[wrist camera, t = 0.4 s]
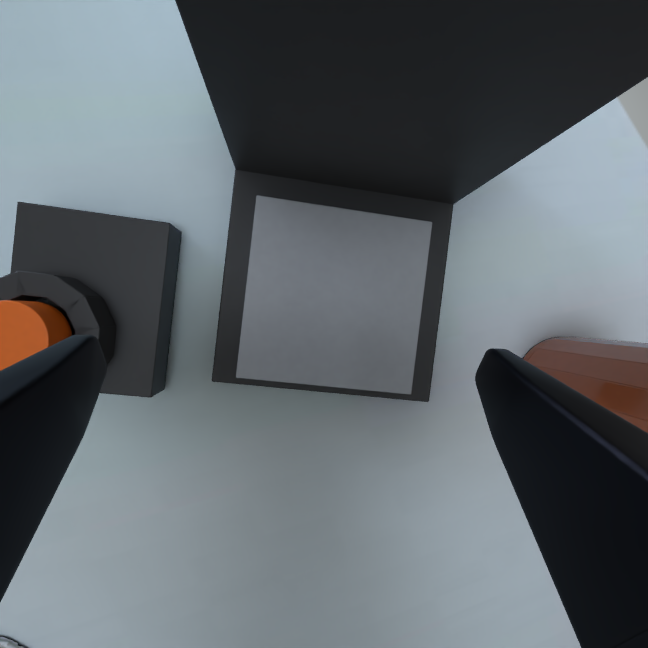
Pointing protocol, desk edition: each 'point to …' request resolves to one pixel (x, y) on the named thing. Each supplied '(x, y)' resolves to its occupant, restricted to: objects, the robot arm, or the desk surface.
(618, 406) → the cup
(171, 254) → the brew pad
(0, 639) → the frog figurine
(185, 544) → the desk surface
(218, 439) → the desk surface
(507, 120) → the coffee maker
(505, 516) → the desk surface
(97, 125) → the desk surface
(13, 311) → the button
